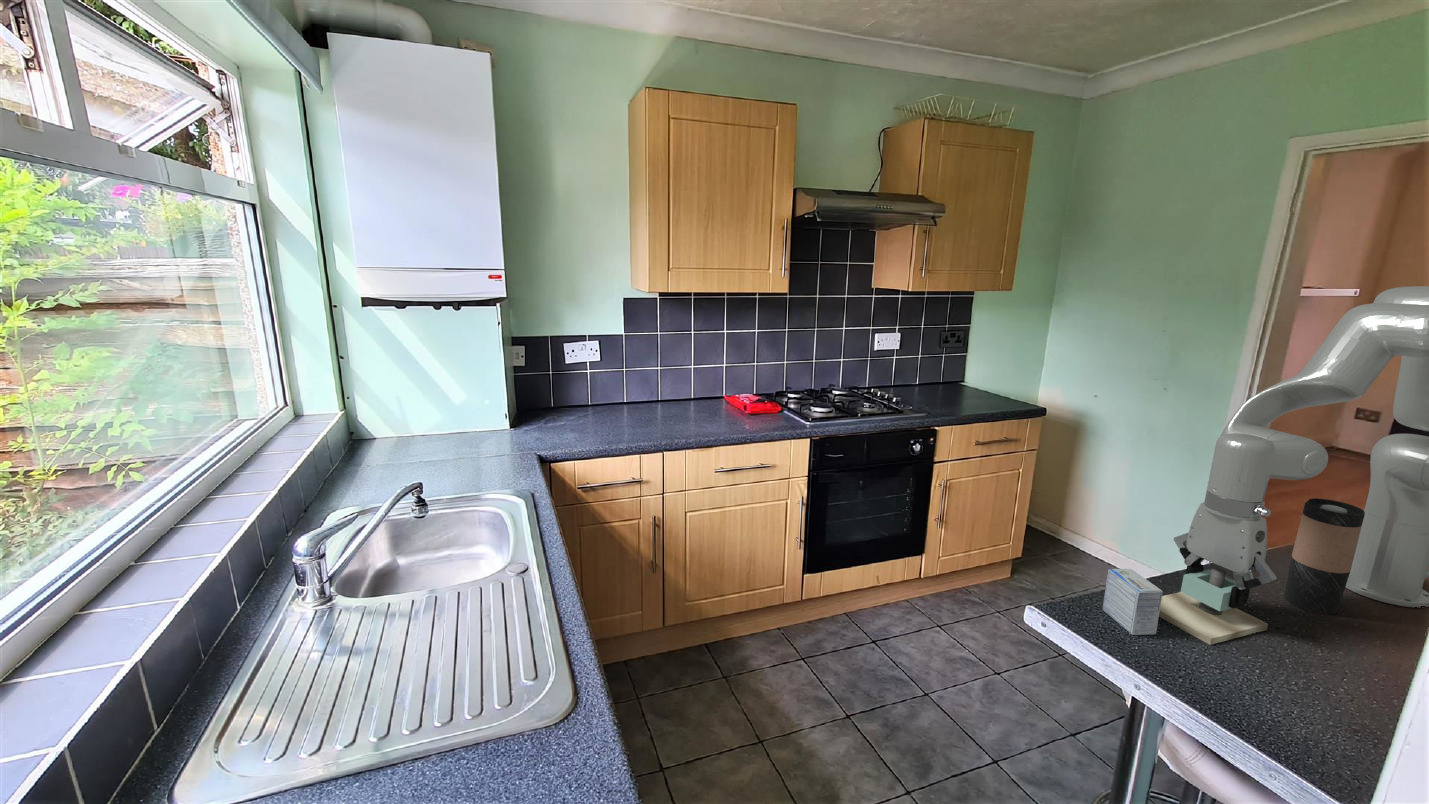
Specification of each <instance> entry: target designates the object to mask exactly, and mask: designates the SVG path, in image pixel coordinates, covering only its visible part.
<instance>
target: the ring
mask: <svg viewBox="0 0 1429 804" xmlns="http://www.w3.org/2000/svg"><path fill="white" fill-rule="evenodd" d="M1210 574H1211V569H1205V570H1203V571H1201V572H1196V573H1190V574H1186V573H1185V574H1183V577H1182V583H1181V587H1180V592H1182V593H1184V594H1186V595H1188V596H1190V597H1192V598H1194V599H1196V600H1198V601H1200V602H1202V603H1204V604H1206V605H1208V606H1210V607H1212V608H1214V609H1216V610H1218V611H1224V610H1228V609H1232V608H1230V607H1229V601H1230V596H1231V589H1232V587H1234V586H1236V582H1235V579H1232V578H1230V577H1228V576H1225V580H1224V585H1223V588H1219V587H1216V586H1214V585H1212V584H1210V583H1209V579H1210Z"/></svg>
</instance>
